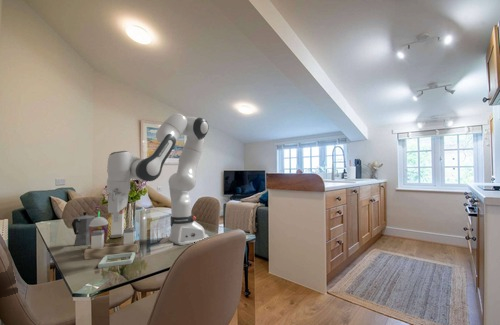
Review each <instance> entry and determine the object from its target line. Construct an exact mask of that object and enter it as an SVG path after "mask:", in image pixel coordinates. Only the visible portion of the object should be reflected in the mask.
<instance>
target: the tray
mask: <svg viewBox="0 0 500 325" xmlns="http://www.w3.org/2000/svg"><path fill="white" fill-rule="evenodd" d="M135 257H136V254H135V252H131V253H122V254H114V255H105V256H104V257H103V258H101V260H100V261H99V262H98V263H97V267H98V268H97V269H100V268H101V269H102V268H109V267H117V266H124V265H131V264H133V262H134V260H135ZM123 258H129V259H123ZM115 259H123V260H116V261H115ZM108 260H114V261H108Z"/></svg>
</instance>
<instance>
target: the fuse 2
mask: <svg viewBox="0 0 500 325" xmlns="http://www.w3.org/2000/svg"><path fill="white" fill-rule="evenodd" d="M135 230H136V227H135V226H133V227H124V235H123V242H124V245H133V244H135V241H136V240H135V238H136V237H135Z"/></svg>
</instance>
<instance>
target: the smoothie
mask: <svg viewBox="0 0 500 325" xmlns="http://www.w3.org/2000/svg"><path fill="white" fill-rule="evenodd" d="M100 214H101V212H100V210H99V211H98V213H97V215H98V216H96V217H95V218H94V219H93V220H92V221H91V223H90V225H89V236H90V245H91V233H92V232H93V231H97V230H104V244H108V234H109V221H108V220H107V219H106V217H102V216H100ZM90 245H89V246H90Z"/></svg>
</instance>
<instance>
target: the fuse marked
mask: <svg viewBox="0 0 500 325" xmlns="http://www.w3.org/2000/svg"><path fill="white" fill-rule="evenodd" d="M119 217H120V218H119V221H118V222H114V216H113V213H111V221H110V222H111V223H110V224H111V227H110V238H120V237H121V238H123V237H124V229H125V208H123V209H122V210H120V211H119Z"/></svg>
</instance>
